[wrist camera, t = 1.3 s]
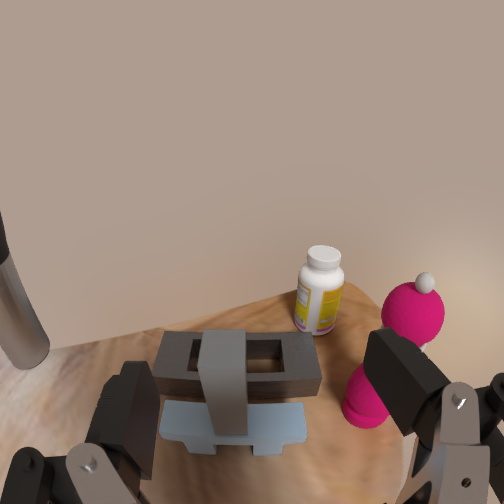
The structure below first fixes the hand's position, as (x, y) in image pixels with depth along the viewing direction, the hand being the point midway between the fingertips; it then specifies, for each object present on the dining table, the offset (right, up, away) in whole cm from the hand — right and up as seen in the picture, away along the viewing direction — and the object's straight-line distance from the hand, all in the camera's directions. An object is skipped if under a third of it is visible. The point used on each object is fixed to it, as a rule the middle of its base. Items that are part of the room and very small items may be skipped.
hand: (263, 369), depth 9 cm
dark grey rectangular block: (-2, -12, +25) cm, 28 cm away
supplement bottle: (+10, -8, +34) cm, 36 cm away
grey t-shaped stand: (-2, -17, +17) cm, 24 cm away
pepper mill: (+14, -16, +19) cm, 28 cm away
